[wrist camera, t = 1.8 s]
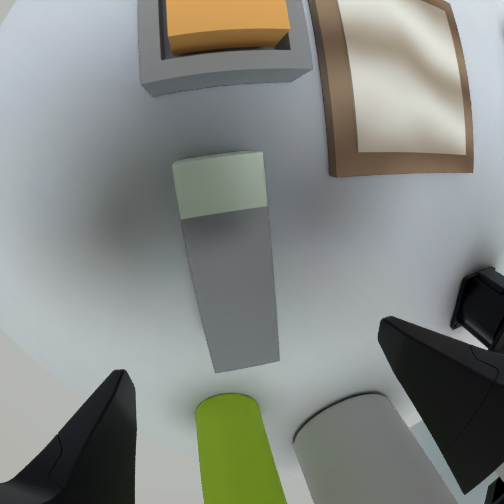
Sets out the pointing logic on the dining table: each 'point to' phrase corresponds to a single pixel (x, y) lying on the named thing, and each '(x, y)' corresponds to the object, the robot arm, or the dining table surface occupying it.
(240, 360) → the grey green block
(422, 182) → the dining table surface
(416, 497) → the cylinder vase
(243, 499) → the soap dispenser
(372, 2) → the board
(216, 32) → the button
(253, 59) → the button housing
